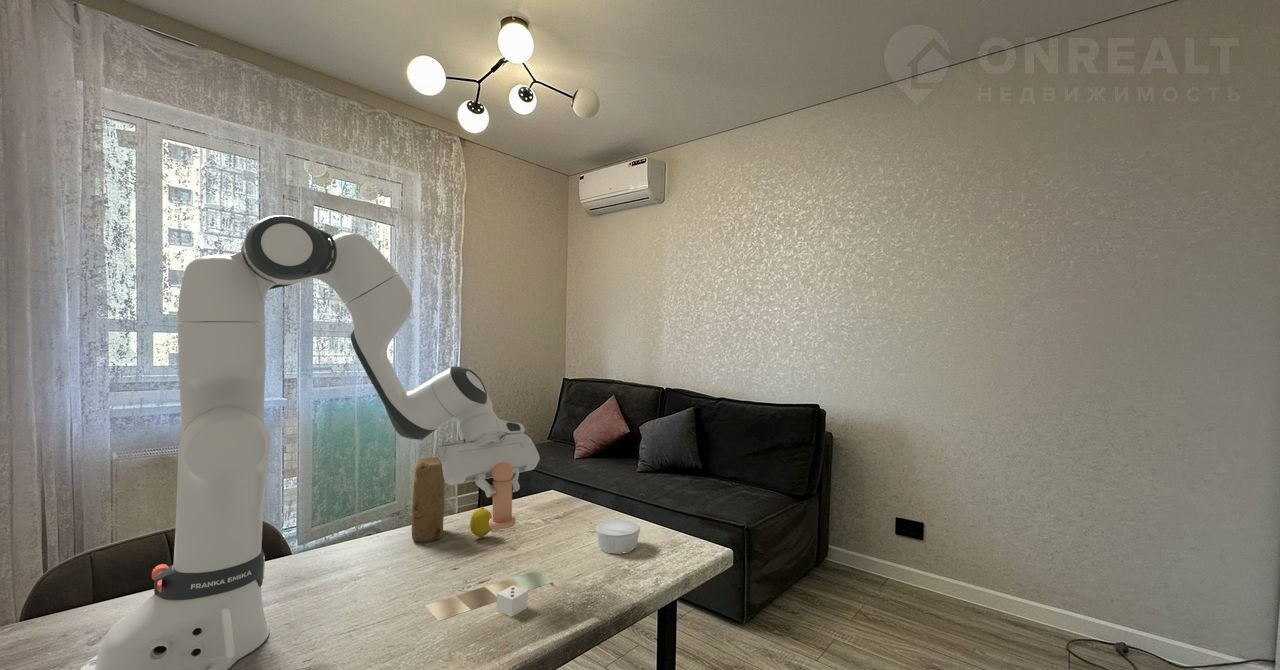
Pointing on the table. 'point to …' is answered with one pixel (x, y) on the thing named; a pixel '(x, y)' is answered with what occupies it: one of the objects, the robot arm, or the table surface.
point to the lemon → (480, 522)
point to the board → (484, 595)
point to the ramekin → (617, 535)
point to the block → (428, 500)
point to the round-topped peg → (502, 497)
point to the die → (512, 600)
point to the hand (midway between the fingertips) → (504, 492)
